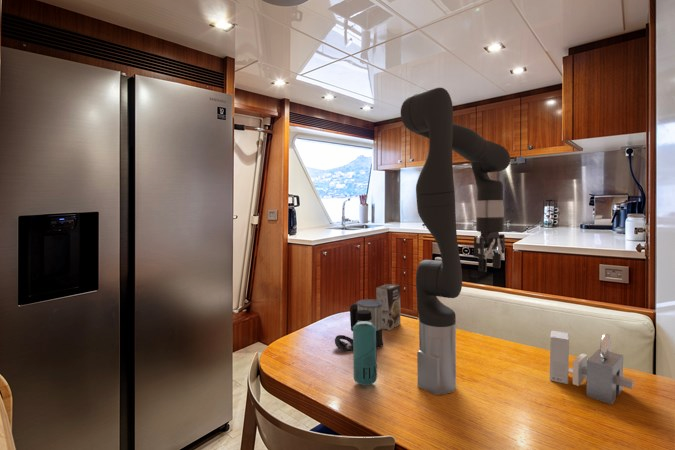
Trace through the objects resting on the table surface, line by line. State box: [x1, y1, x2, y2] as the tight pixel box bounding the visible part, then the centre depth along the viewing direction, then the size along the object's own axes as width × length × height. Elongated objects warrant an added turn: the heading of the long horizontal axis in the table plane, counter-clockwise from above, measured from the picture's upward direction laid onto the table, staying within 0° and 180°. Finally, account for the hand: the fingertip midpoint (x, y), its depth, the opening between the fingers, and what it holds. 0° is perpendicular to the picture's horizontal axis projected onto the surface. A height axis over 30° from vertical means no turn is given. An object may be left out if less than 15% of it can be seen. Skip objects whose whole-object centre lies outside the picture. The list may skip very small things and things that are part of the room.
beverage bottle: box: [352, 310, 378, 386], centre depth 92 cm, size 6×7×20 cm
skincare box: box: [549, 330, 570, 385], centre depth 93 cm, size 6×4×12 cm
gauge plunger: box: [572, 353, 635, 390], centre depth 87 cm, size 11×11×6 cm
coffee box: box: [375, 283, 401, 331], centre depth 137 cm, size 9×6×16 cm
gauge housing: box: [568, 332, 624, 405], centre depth 90 cm, size 13×15×15 cm
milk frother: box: [334, 298, 384, 352], centre depth 118 cm, size 14×16×15 cm
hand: (489, 269), depth 103 cm, fingers open, 8 cm apart
